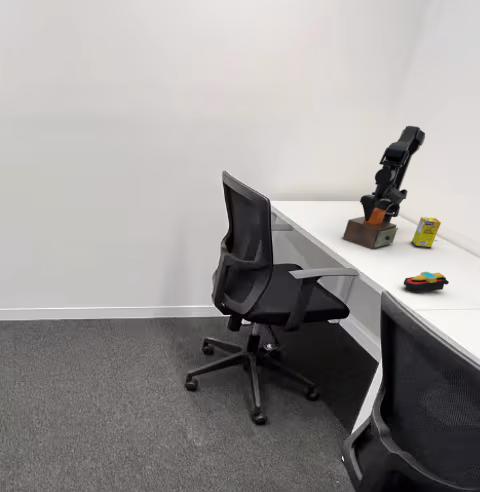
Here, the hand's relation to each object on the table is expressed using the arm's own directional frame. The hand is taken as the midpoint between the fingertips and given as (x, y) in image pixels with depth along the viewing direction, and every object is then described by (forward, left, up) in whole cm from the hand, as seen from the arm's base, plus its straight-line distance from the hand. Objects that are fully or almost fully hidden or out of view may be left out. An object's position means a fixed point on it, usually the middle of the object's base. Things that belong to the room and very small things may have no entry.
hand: (373, 219), depth 222 cm
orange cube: (0, 0, -1) cm, 1 cm away
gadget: (+29, +40, -9) cm, 50 cm away
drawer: (0, +2, -8) cm, 9 cm away
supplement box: (-17, +14, -9) cm, 24 cm away
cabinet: (0, 0, -9) cm, 9 cm away
